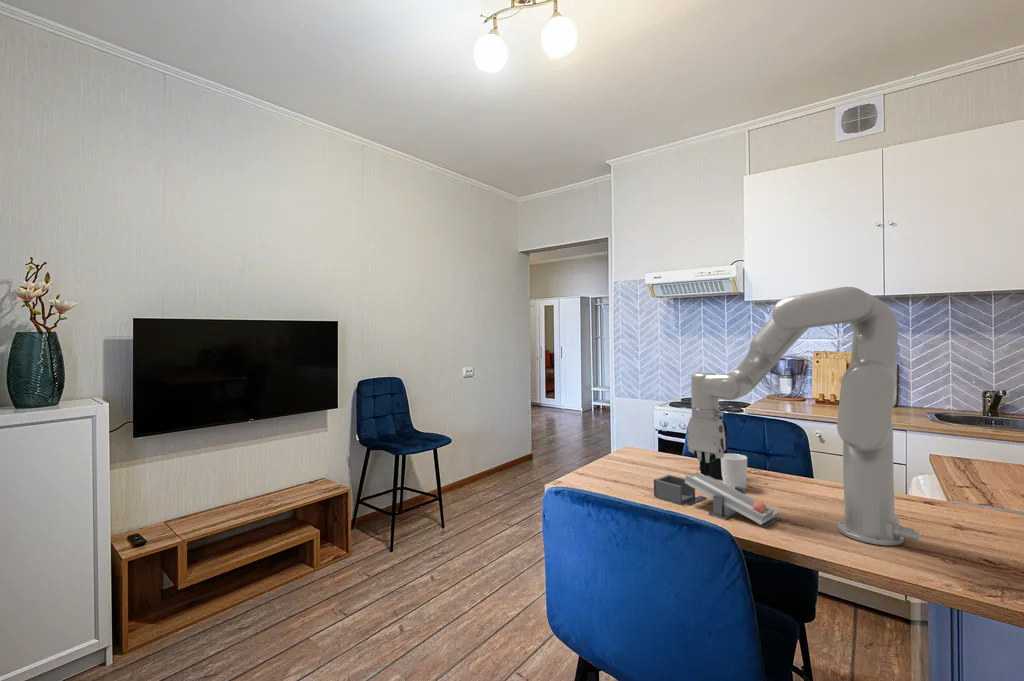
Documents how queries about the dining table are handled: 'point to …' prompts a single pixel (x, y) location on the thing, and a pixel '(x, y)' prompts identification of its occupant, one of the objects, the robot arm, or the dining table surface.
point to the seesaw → (730, 497)
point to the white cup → (734, 470)
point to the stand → (726, 508)
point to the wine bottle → (719, 459)
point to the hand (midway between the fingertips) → (705, 474)
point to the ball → (759, 507)
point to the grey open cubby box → (673, 489)
